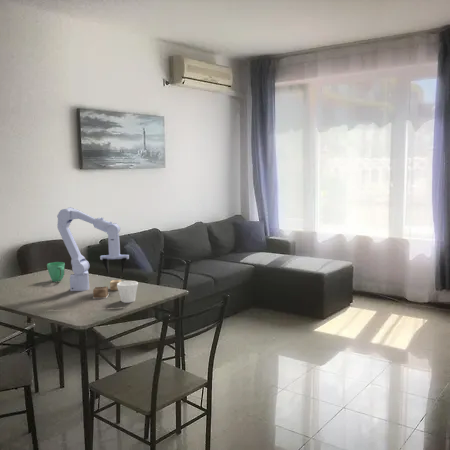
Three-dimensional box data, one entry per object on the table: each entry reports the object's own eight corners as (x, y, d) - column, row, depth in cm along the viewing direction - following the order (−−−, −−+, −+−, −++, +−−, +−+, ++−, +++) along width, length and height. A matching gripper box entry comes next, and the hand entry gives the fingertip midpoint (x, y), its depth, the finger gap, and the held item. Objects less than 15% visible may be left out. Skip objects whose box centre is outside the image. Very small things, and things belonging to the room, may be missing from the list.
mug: (45, 280, 294) (44, 263, 293) (61, 277, 301) (60, 261, 299) (55, 285, 283) (54, 267, 282) (72, 282, 289) (71, 264, 288)
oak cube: (110, 291, 266) (109, 282, 265) (112, 289, 271) (111, 280, 270) (120, 291, 266) (119, 282, 265) (121, 289, 271) (121, 279, 270)
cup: (118, 305, 239) (117, 286, 238) (117, 300, 248) (116, 281, 247) (140, 303, 241) (139, 284, 240) (137, 298, 251) (136, 280, 250)
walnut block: (93, 298, 251) (93, 290, 251) (96, 294, 257) (95, 287, 257) (105, 297, 251) (105, 289, 251) (108, 294, 257) (107, 286, 257)
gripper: (98, 248, 261) (99, 274, 263) (127, 247, 262) (128, 273, 264) (101, 246, 268) (102, 271, 270) (129, 245, 269) (130, 271, 271)
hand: (115, 272), depth 267 cm, fingers open, 7 cm apart
